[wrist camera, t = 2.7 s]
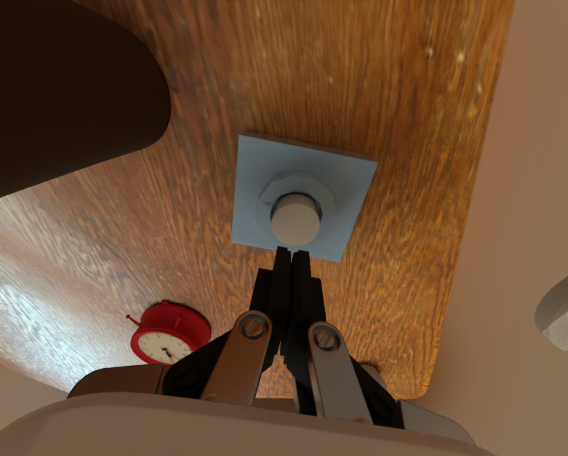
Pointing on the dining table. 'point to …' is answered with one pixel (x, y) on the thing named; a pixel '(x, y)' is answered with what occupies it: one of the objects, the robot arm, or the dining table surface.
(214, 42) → the dining table surface
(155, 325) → the alarm clock
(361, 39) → the dining table surface
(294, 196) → the round push button
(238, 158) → the square base with collar
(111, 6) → the dining table surface
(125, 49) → the olive oil
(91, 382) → the robot arm
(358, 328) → the dining table surface
